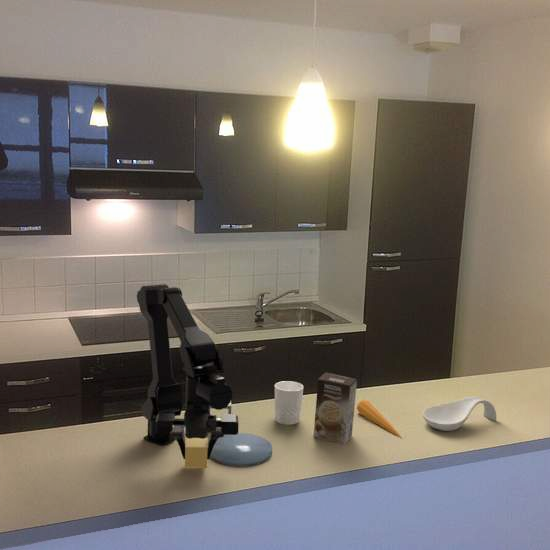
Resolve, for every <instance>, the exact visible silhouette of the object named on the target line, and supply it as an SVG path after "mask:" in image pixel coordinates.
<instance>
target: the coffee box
mask: <svg viewBox="0 0 550 550" xmlns="http://www.w3.org/2000/svg"><path fill="white" fill-rule="evenodd" d="M357 384H358V379H357V378H353V377H350V376H344V375H340V374H336V373H331V372H324V373H323V374H322V375H321V376H320V377H319V378H318V379H317V386H316V387H317V389H316V398H315V399H316V402H315V414H314V428H313V437H316V438H320V439H323V440H327V441H332V442H335V443H338V444H339V443H340V444H343V445H346V443H348V441H349V440H350V439H351V438H352V436H353V428H354V427H353V426H354V416H355V409H356V408H355V405H356V396H357V395H356V393H357Z"/></svg>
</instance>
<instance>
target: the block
mask: <svg viewBox="0 0 550 550" xmlns="http://www.w3.org/2000/svg"><path fill="white" fill-rule="evenodd" d="M208 443H209V438H208V437H206V438H204V439H201V438H191V439H190V438H187V437H185V459H184V468H185V469H192V468H193V469H195V468H196V469H207V468H208V459H207V450H208Z"/></svg>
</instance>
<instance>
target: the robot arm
mask: <svg viewBox="0 0 550 550" xmlns="http://www.w3.org/2000/svg"><path fill="white" fill-rule="evenodd" d="M136 301H137V304H138V306H139V311H140V313H141V314H142V316H143V317H144V318H145V319H146V321H147V328H148V339H149V348H150V350H149V351H150V359H151V368H152V369H151V371H152V380H151V383H150V385H149V387H148V388H147V399H146V400H145V402H144V403H143V404H142V405H141V413H142V414H141V415H142V417H144V418H145V419H146V420H147V434H146V435H145V436H143V440H145V441H148V442H151V443H154V444H157V445H160V446H165V445H166V444H169V443H170V442H172V441H174V440H176V443H177V444H178V446H179V449H180V452H181V455H182V458H183V460H185V446H186V438H190V439H191V438H201V439H204V438H208V434H209V438H208V450H207V460H209V459H210V458H211V457H210V455H211V452H212V450H213V447H214V445H215V443H216V441H217V440H218V439H219V438H220V437H224V435H236V434H238V433H239V425H240V424H239V416H238V415H237V414H236V413H233V414H232V413H231V414H228V413H221V414H220V415H221V417H220V418H217V415H216V414H215V415H213V414H211V408H210V406H211V407H213V408H214V410H217V411H219V410H223V409H224V408H225V407H227V406H228V405H229V403H230V402H231V403H232V400H233V394H234V393H233V391H232V388H231V387H230V385H228V384H227V383H226V379H225V377H223V376H220V375H219V374H225V370H224V367H223V366H224V362H223V360H222V357H221V355H220V352H219V349H218V347H217V344H216V343H215V342H214V339H212V337H211V336H210V335H209V334H208V333H206V332H205V331H203V330H202V329H200V327H199V326H198V324H197V322H196V320H195V318H194V317H193V314H192V312H191V311H190V309H189V307H188V306H187V303H186V301H185V300H184V297H183V292H182V290H181V288H180V287H177V286H174V287H173V286H172V287H169V285H167V284H166V283H164V284H162V283H161V284H151V285H142V286H141V287H140V290H138V291H137V293H136ZM168 319H169V320H170V322H171V325H172V327H173V328H174V330H175V332H176V334H177V336H178V338H179V341H180V344H179V349H178V350H179V354H180V358H181V362H182V363H183V365H184V366H183V367H182V370H183V371H184V372H185V397H184V398H185V401H184V398H183V392H182V390H183V389H182V385H181V384H180V383H178V382H177V380H176V379H175V378H174V376H173V375H174V374H173V369H172V368H173V367H172V358H171V357H172V355H171V348H170V347H171V345H170V335H169V325H168ZM210 365H212V366H210ZM204 366H205V367H204ZM183 405H185V406H184V411H185V412H184V415H183V418H176V417H178V416H179V417H180V416H181V414H182V410H183ZM213 408H212V409H213ZM224 410H225V409H224Z"/></svg>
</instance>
